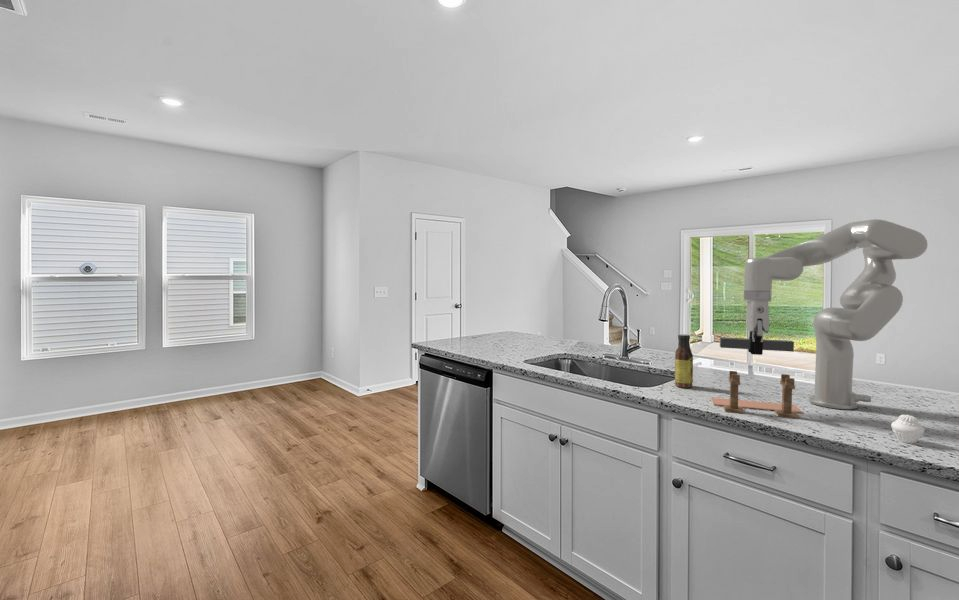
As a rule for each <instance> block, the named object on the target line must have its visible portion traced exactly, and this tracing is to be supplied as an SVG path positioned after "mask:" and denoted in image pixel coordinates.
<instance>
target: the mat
mask: <svg viewBox="0 0 959 600" xmlns="http://www.w3.org/2000/svg"><path fill="white" fill-rule="evenodd" d="M711 401H713V402H712V403H713V406H716V407H724V405H729V406H730V398H720V397H711ZM738 406H740V407H742V408H743V409H746V408H754V409H753V410H757V409H763V410H762V411H768V410H773V411H772V412H775V410H782V403H781V402H779V403H778V402H768V401H767V402H766V401H757V400H755V401H754V400H746V399H744V400H742V399H738ZM791 411H795V413H796V414H801V413H802V414H803V411H802V410H801V409H800V408H799V407H798V406H797V405H796V404H792V410H791Z"/></svg>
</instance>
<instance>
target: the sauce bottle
mask: <svg viewBox="0 0 959 600" xmlns="http://www.w3.org/2000/svg"><path fill="white" fill-rule="evenodd" d="M677 339H678V347H677V348H676V350H675V358H674V382H675V383H674V384H675V386H676V387H678V388H680V389H681V388H683V389H691V388H692V387H693V382H694V381H693V380H694V379H693V378H694V354H693V352H692V349H691V346H690V339H691V335H690V334H684V333H683V334H682V333H681V334H678V335H677Z"/></svg>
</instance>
